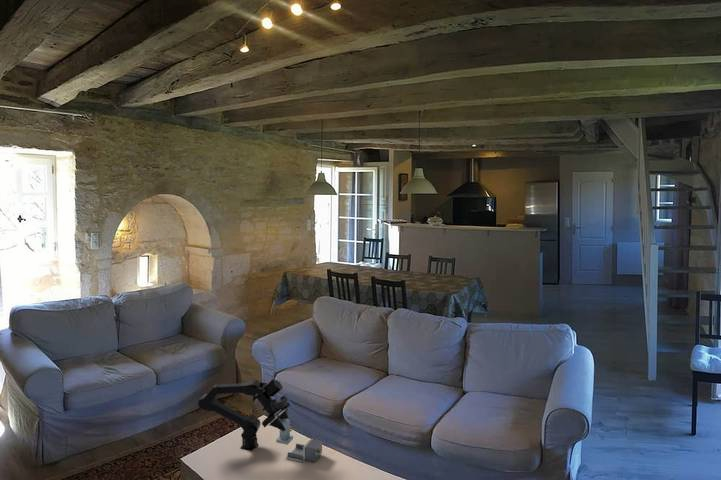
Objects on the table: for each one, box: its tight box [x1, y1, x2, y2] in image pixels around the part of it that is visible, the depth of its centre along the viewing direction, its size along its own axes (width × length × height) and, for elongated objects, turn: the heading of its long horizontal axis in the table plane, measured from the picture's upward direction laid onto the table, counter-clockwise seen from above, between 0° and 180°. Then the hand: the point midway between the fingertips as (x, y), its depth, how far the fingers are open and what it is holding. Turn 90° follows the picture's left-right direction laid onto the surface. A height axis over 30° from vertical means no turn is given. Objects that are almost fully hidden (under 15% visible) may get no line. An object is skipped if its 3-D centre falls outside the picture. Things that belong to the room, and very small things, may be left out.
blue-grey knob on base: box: [275, 418, 294, 445], centre depth 236 cm, size 6×6×10 cm
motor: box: [286, 437, 323, 463], centre depth 233 cm, size 15×11×7 cm
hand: (287, 428), depth 235 cm, fingers closed on blue-grey knob on base, 5 cm apart
